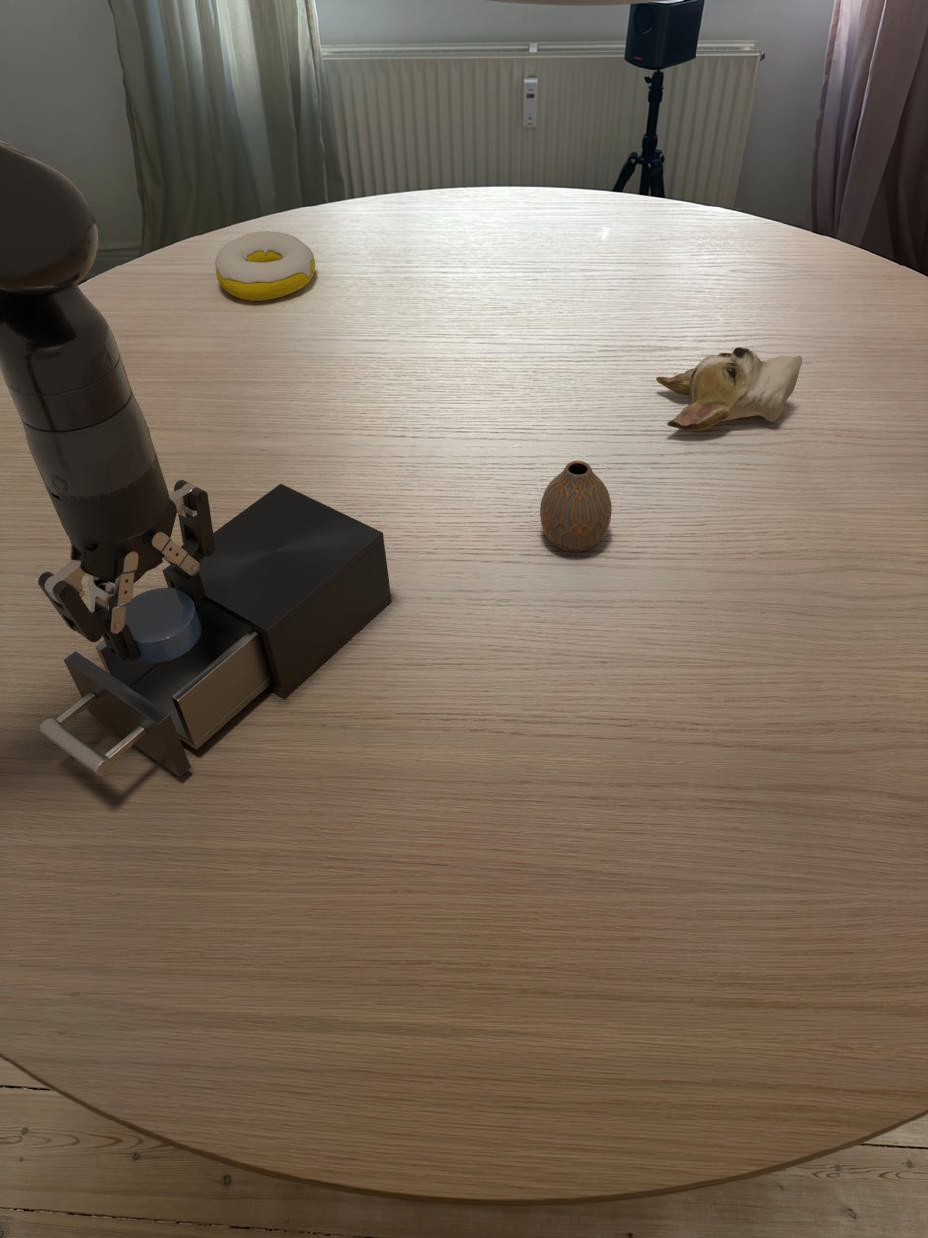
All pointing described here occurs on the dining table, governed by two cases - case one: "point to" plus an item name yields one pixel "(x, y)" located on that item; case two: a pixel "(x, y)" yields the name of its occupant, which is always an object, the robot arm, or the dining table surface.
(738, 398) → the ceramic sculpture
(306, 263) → the donut
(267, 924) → the dining table surface
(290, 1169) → the dining table surface
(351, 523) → the cabinet
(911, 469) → the dining table surface
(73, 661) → the drawer
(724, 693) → the dining table surface
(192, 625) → the cylinder
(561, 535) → the vase
